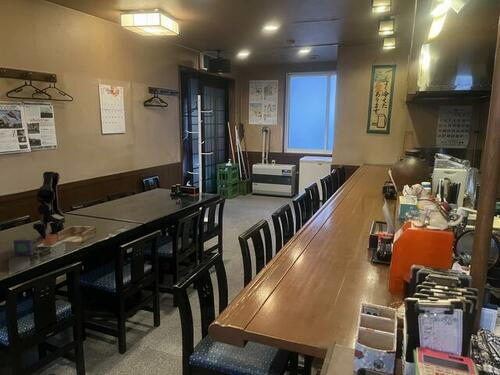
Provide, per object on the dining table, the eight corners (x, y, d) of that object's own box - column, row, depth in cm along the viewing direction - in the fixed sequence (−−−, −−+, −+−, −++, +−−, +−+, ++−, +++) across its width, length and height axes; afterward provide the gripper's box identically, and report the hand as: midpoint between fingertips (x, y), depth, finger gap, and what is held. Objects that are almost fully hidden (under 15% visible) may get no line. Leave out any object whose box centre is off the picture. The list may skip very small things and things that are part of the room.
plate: (36, 248, 202) (36, 246, 202) (47, 242, 212) (47, 240, 212) (53, 248, 201) (53, 247, 201) (63, 243, 211) (63, 241, 211)
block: (43, 245, 204) (42, 236, 203) (49, 242, 209) (48, 234, 208) (51, 245, 204) (51, 237, 203) (57, 242, 209) (56, 234, 208)
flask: (34, 254, 192) (32, 235, 190) (31, 256, 189) (29, 236, 188) (16, 254, 191) (14, 235, 190) (13, 256, 189) (11, 237, 187)
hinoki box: (57, 242, 212) (57, 232, 211) (72, 235, 226) (71, 226, 225) (83, 243, 211) (83, 233, 210) (96, 235, 225) (95, 226, 224)
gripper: (50, 214, 193) (52, 242, 196) (70, 207, 211) (72, 232, 214) (31, 214, 194) (33, 241, 196) (52, 206, 212) (54, 232, 215)
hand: (49, 236), depth 205 cm, fingers open, 9 cm apart
